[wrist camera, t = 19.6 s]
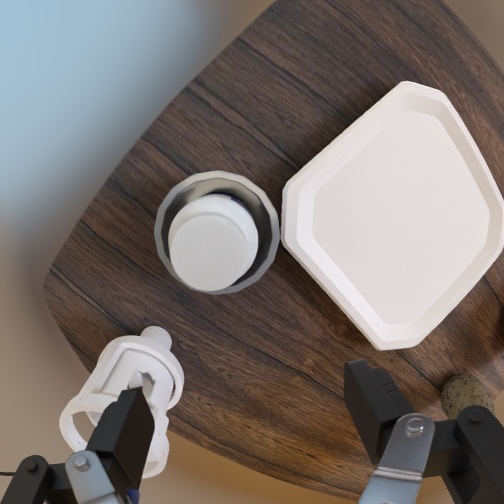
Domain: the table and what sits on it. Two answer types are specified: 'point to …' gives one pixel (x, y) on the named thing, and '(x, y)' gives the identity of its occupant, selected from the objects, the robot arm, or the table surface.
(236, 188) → the grey faceted pot
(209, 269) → the pill bottle
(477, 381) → the decorative egg
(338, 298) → the plate
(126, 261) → the table surface
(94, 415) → the white ringed tube holder
